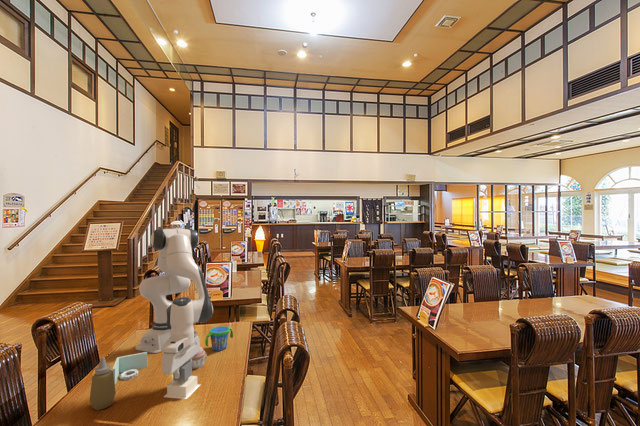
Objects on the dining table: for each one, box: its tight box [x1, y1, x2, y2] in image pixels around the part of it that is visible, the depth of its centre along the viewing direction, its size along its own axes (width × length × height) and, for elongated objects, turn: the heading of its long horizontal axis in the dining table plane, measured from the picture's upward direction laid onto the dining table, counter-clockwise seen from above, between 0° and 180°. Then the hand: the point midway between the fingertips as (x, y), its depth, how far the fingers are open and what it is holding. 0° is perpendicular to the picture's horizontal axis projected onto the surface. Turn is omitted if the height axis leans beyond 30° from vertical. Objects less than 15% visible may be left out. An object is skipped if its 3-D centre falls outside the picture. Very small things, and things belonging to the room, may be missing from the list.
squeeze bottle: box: [89, 356, 117, 411], centre depth 113 cm, size 8×8×18 cm
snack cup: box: [204, 325, 234, 352], centre depth 161 cm, size 16×10×10 cm
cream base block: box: [166, 375, 198, 397], centre depth 121 cm, size 8×8×4 cm
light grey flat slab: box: [163, 383, 201, 400], centre depth 121 cm, size 18×14×1 cm
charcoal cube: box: [172, 362, 193, 381], centre depth 121 cm, size 5×5×5 cm
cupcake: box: [191, 346, 208, 370], centre depth 142 cm, size 9×9×10 cm
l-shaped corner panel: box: [112, 351, 148, 385], centre depth 135 cm, size 12×12×8 cm
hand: (182, 373), depth 121 cm, fingers closed on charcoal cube, 5 cm apart
